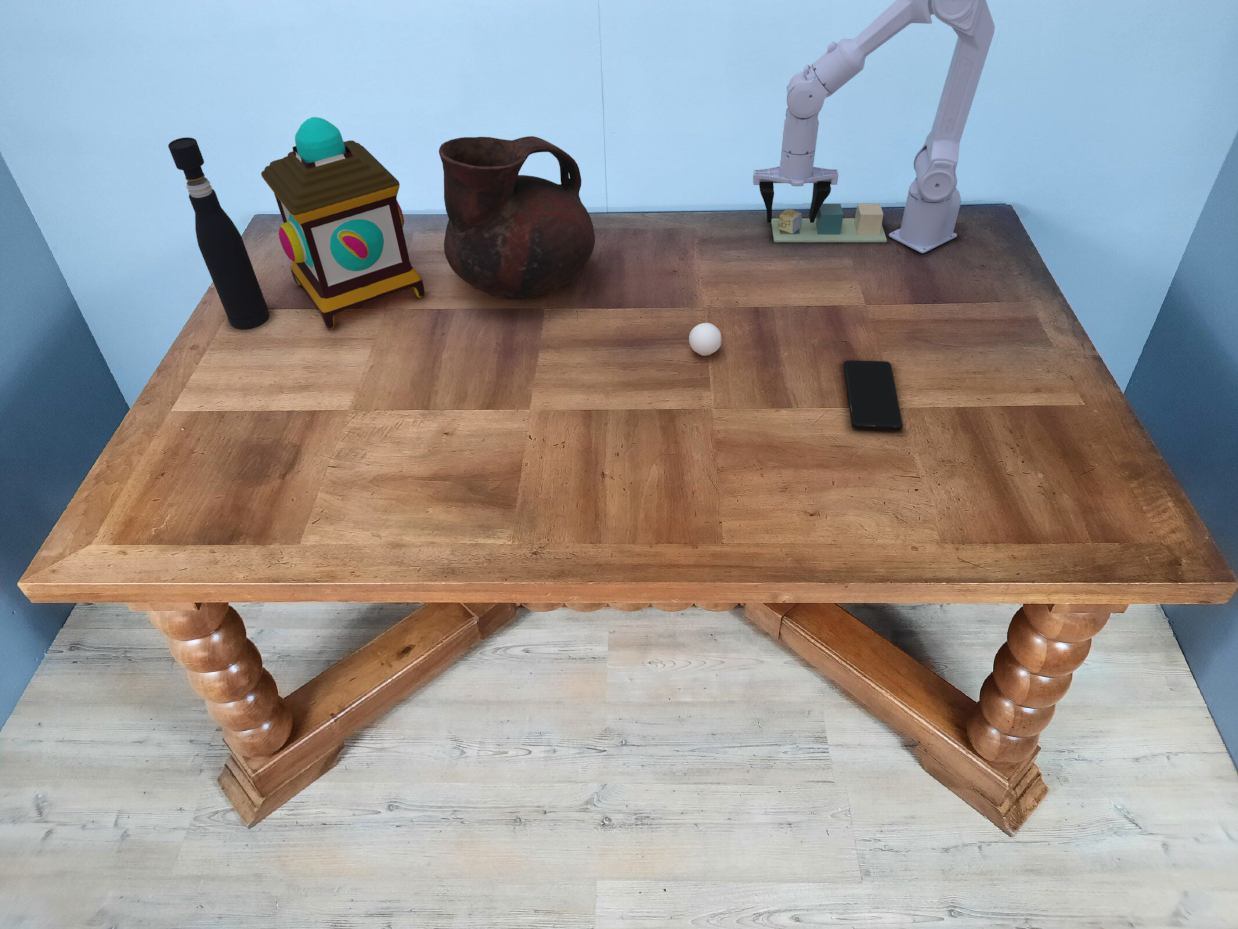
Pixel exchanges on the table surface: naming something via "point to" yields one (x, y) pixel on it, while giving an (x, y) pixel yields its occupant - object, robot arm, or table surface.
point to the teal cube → (829, 219)
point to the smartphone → (872, 395)
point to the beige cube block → (868, 218)
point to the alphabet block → (790, 221)
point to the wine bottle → (220, 243)
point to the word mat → (811, 235)
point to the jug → (512, 217)
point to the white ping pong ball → (705, 339)
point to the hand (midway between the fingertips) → (790, 220)
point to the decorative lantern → (340, 221)
